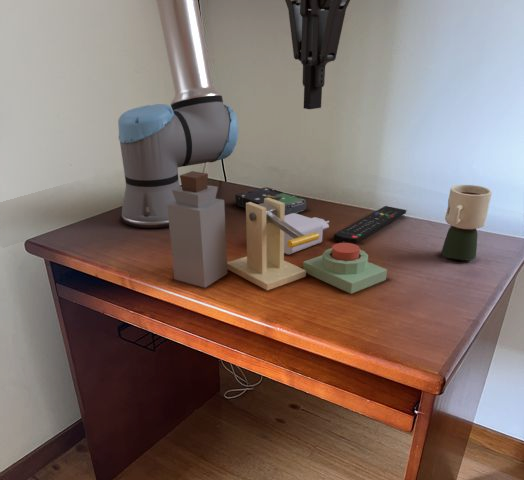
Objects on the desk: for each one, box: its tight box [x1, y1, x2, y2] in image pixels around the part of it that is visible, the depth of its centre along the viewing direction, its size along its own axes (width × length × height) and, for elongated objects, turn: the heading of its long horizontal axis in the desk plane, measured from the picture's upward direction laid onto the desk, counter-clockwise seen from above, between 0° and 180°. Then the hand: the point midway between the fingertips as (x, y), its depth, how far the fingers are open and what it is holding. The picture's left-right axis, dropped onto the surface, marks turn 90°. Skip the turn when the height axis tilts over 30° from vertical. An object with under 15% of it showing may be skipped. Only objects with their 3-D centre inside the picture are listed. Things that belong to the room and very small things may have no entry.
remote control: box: [333, 205, 407, 244], centre depth 119 cm, size 5×24×1 cm, turn 143°
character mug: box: [441, 184, 493, 261], centre depth 102 cm, size 11×7×13 cm, turn 140°
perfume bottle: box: [167, 170, 228, 289], centre depth 93 cm, size 7×7×18 cm
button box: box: [302, 247, 388, 295], centre depth 97 cm, size 12×9×4 cm
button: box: [331, 242, 361, 261], centre depth 96 cm, size 5×5×2 cm
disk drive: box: [234, 186, 308, 215], centre depth 131 cm, size 10×3×15 cm
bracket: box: [227, 198, 307, 291], centre depth 96 cm, size 12×9×13 cm
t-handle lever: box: [258, 203, 319, 248], centre depth 91 cm, size 12×6×2 cm, turn 39°
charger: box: [284, 213, 330, 255], centre depth 112 cm, size 5×9×15 cm
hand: (312, 107), depth 93 cm, fingers closed
